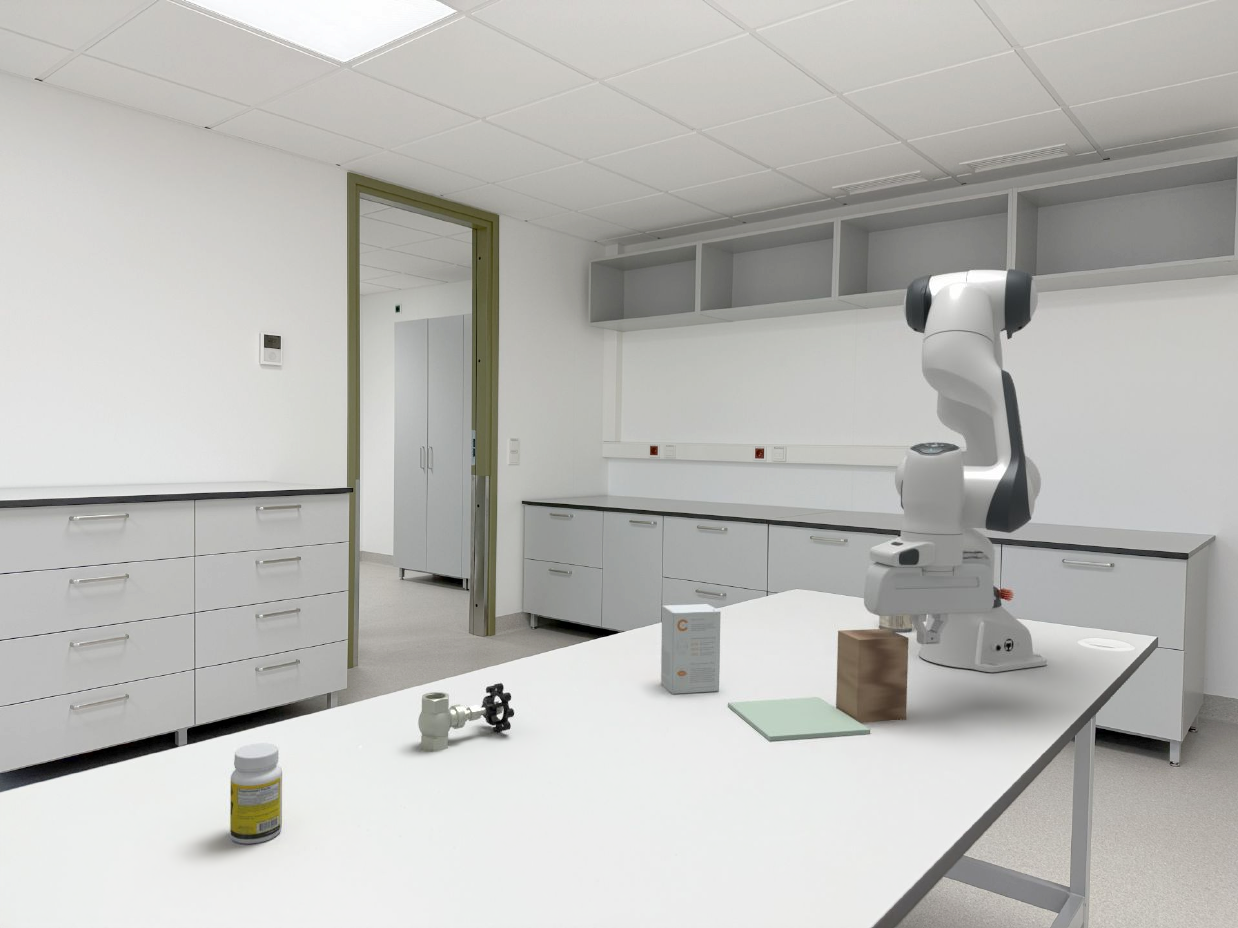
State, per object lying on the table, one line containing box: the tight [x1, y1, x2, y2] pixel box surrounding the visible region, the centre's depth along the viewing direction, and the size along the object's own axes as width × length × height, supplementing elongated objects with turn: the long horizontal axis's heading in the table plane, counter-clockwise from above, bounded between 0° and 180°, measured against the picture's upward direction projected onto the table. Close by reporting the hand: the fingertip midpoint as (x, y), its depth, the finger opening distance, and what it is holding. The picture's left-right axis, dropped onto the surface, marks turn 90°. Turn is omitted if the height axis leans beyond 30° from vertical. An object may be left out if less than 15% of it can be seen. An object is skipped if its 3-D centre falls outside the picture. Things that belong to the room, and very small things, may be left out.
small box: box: [660, 603, 721, 695], centre depth 137 cm, size 8×6×13 cm
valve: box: [417, 682, 515, 752], centre depth 111 cm, size 7×7×12 cm
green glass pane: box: [727, 696, 871, 742], centre depth 122 cm, size 15×15×1 cm
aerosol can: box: [878, 536, 913, 633], centre depth 185 cm, size 7×7×20 cm
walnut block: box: [835, 628, 909, 724], centre depth 125 cm, size 8×6×12 cm
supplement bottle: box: [229, 742, 283, 845], centre depth 84 cm, size 5×5×8 cm
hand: (928, 643), depth 127 cm, fingers closed
